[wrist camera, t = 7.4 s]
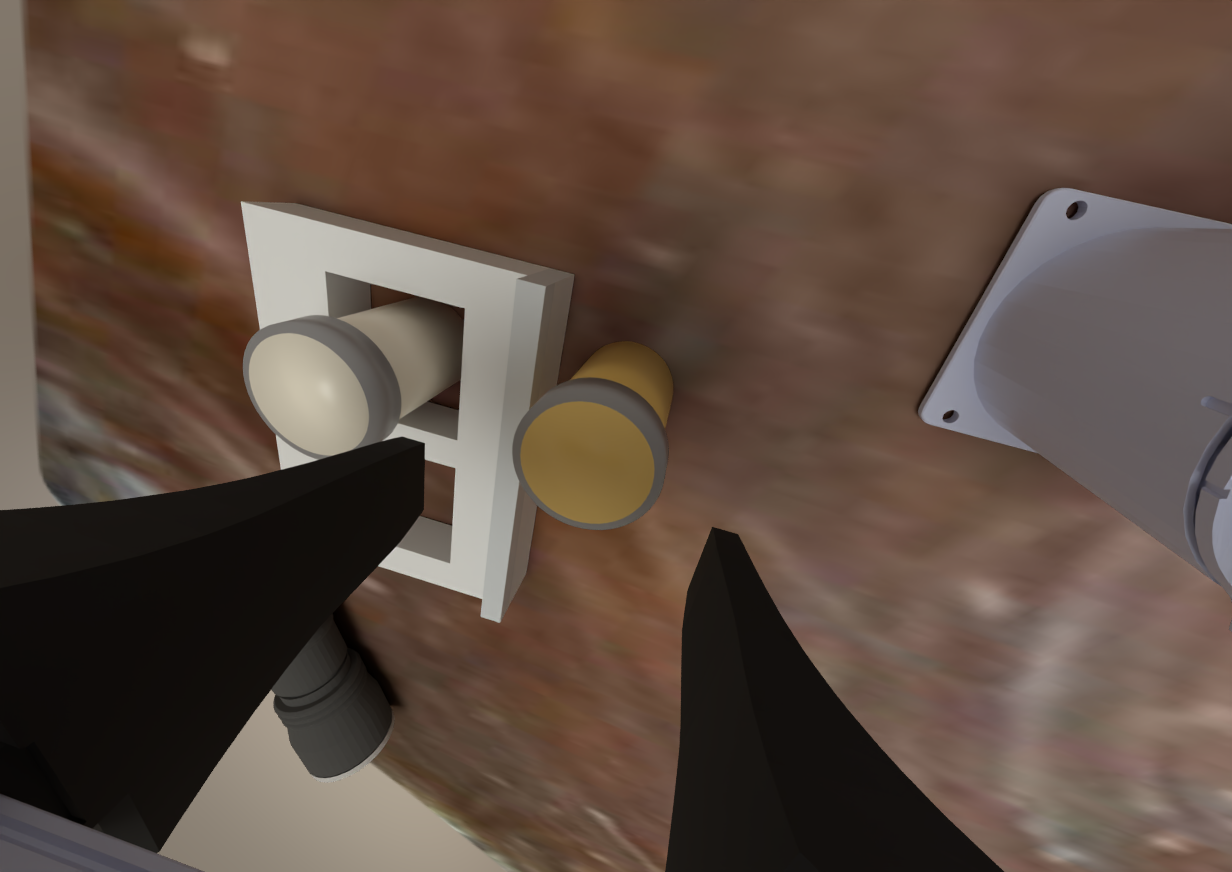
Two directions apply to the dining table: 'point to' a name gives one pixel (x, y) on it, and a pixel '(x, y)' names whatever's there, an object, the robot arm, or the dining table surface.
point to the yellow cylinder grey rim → (599, 439)
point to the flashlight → (332, 707)
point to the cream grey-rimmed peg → (352, 372)
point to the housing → (490, 377)
